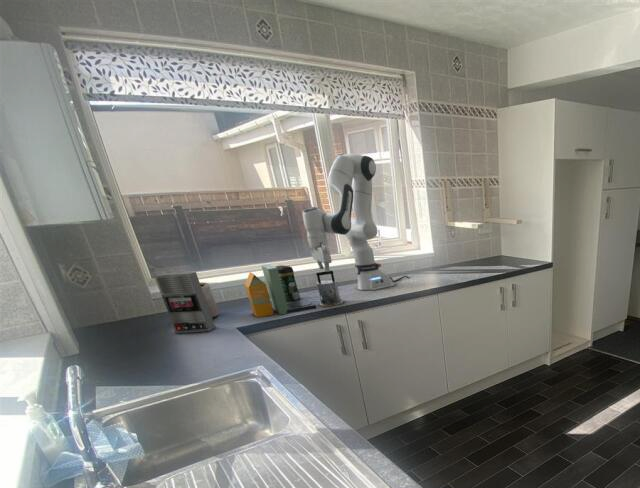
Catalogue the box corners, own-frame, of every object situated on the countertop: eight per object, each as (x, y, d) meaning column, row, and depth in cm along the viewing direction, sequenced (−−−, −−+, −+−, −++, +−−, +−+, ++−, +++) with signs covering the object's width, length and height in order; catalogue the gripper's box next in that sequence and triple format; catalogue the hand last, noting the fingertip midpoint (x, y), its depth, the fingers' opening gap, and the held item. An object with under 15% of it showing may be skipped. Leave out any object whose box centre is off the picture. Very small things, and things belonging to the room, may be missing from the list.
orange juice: (257, 317, 204) (244, 275, 195) (252, 313, 210) (240, 273, 201) (274, 313, 209) (263, 273, 200) (269, 310, 215) (258, 270, 206)
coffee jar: (279, 300, 234) (270, 266, 226) (292, 297, 240) (284, 263, 231) (289, 302, 229) (280, 267, 221) (302, 299, 235) (294, 265, 227)
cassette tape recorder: (175, 334, 183) (152, 276, 172) (182, 330, 188) (160, 273, 178) (209, 331, 185) (188, 274, 174) (215, 327, 190) (196, 271, 179)
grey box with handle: (337, 299, 230) (330, 269, 223) (345, 303, 222) (338, 272, 214) (319, 302, 225) (312, 271, 218) (326, 307, 216) (319, 275, 209)
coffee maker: (308, 302, 228) (298, 260, 218) (317, 307, 217) (306, 264, 208) (273, 308, 218) (261, 265, 208) (280, 314, 207) (267, 269, 198)
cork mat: (338, 299, 232) (338, 298, 232) (346, 303, 223) (346, 302, 223) (316, 303, 225) (316, 302, 225) (323, 307, 217) (323, 306, 217)
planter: (168, 325, 195) (155, 292, 188) (187, 315, 211) (175, 283, 204) (210, 322, 198) (199, 289, 191) (225, 312, 214) (215, 281, 207)
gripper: (331, 243, 205) (337, 272, 211) (318, 239, 220) (324, 266, 226) (317, 245, 202) (324, 274, 208) (305, 241, 216) (312, 268, 222)
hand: (324, 270), depth 217 cm, fingers open, 8 cm apart
